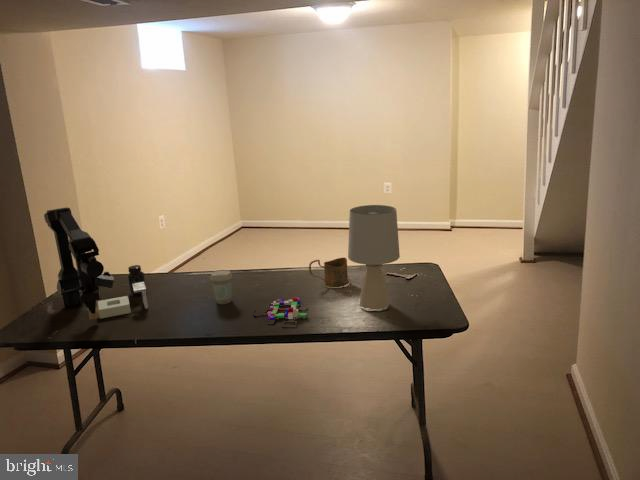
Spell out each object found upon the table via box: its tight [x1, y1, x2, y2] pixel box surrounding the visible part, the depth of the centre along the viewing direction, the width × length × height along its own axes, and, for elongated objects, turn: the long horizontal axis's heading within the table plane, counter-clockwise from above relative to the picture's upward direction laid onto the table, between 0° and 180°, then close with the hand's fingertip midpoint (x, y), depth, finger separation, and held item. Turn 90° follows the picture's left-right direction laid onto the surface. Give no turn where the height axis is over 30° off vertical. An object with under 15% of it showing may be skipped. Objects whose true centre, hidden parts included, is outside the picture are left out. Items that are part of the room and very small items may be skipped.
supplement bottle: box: [126, 264, 148, 297], centre depth 213 cm, size 7×7×12 cm
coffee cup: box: [210, 269, 233, 305], centre depth 200 cm, size 8×9×12 cm
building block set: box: [267, 297, 308, 321], centre depth 188 cm, size 25×20×4 cm
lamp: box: [347, 204, 401, 309], centre depth 185 cm, size 19×19×37 cm
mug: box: [308, 257, 350, 287], centre depth 213 cm, size 12×18×12 cm, turn 115°
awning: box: [132, 282, 149, 310], centre depth 200 cm, size 4×9×8 cm, turn 24°
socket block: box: [97, 295, 132, 320], centre depth 197 cm, size 11×10×4 cm
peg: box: [87, 300, 100, 320], centre depth 185 cm, size 4×4×8 cm
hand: (93, 311), depth 186 cm, fingers closed on peg, 4 cm apart
